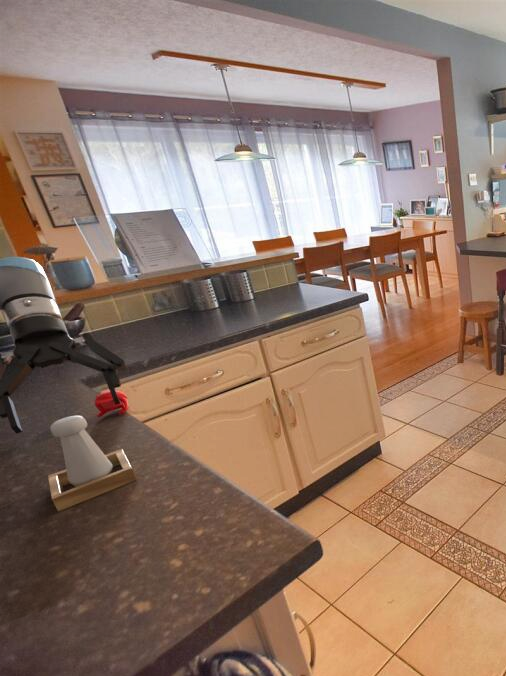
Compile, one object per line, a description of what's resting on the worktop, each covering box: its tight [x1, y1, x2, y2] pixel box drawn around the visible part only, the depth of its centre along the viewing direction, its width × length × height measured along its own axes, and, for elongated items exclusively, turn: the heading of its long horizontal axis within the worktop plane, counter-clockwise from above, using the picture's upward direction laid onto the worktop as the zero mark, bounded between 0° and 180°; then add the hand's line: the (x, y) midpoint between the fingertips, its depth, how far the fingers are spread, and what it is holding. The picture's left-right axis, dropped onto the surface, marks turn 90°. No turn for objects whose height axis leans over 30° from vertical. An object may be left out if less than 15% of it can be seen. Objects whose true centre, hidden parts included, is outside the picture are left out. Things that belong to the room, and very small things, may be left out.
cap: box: [94, 390, 130, 418], centre depth 103 cm, size 8×6×6 cm
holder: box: [47, 448, 138, 513], centre depth 77 cm, size 10×10×2 cm
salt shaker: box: [50, 415, 114, 488], centre depth 75 cm, size 6×6×13 cm
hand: (69, 415), depth 81 cm, fingers open, 13 cm apart
